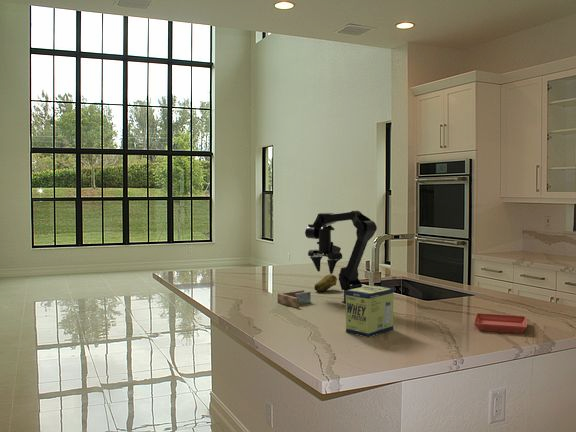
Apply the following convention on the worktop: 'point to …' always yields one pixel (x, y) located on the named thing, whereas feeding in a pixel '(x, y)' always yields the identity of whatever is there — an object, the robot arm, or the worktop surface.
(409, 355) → the worktop surface
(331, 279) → the potato
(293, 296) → the wooden corner frame
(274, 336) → the worktop surface
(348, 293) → the protein box
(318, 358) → the worktop surface
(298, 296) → the bracket
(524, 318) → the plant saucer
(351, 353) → the worktop surface
